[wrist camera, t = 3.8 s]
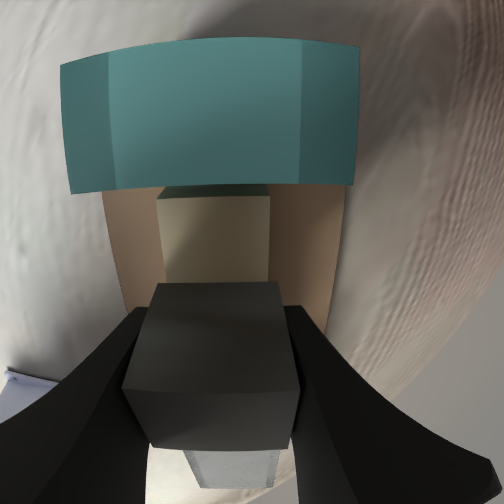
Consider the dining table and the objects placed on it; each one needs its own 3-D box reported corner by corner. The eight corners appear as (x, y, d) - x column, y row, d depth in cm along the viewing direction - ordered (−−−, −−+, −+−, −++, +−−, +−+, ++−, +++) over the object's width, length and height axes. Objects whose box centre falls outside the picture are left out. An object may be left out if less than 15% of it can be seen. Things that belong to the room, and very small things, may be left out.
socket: (139, 152, 11) (70, 194, 6) (136, 77, 9) (60, 65, 5) (302, 147, 11) (353, 185, 6) (303, 71, 10) (359, 47, 5)
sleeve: (203, 432, 20) (200, 487, 16) (187, 366, 16) (178, 438, 12) (267, 431, 20) (272, 487, 16) (273, 365, 16) (282, 438, 12)
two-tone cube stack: (203, 410, 17) (197, 513, 11) (168, 174, 10) (80, 281, 4) (262, 409, 17) (270, 513, 11) (270, 171, 11) (318, 279, 4)
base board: (172, 421, 21) (171, 433, 20) (104, 86, 10) (92, 85, 9) (299, 419, 21) (301, 432, 20) (342, 78, 11) (352, 76, 10)
